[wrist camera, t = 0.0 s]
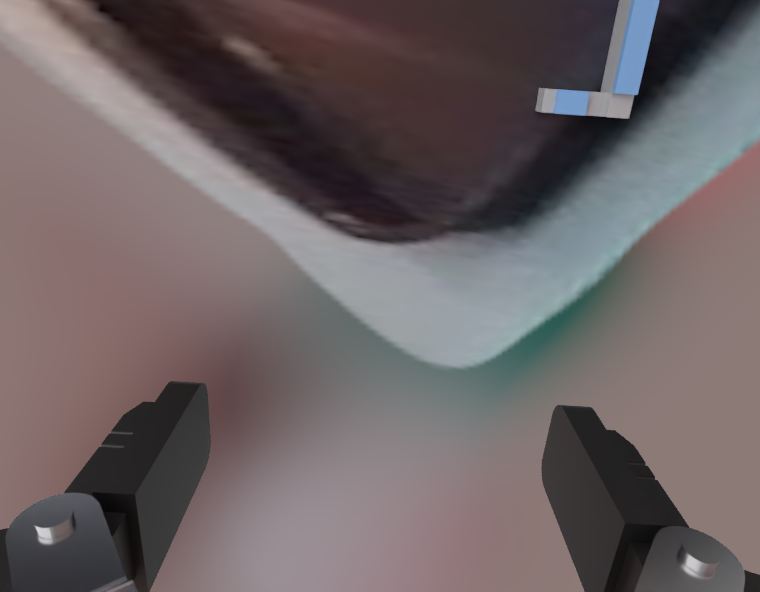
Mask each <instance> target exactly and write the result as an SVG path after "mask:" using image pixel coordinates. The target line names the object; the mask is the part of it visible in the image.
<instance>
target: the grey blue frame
mask: <svg viewBox="0 0 760 592" xmlns="http://www.w3.org/2000/svg"><path fill="white" fill-rule="evenodd" d="M658 5H659V0H619V4H618V8H617V13H616V18H615V23H614V28H613V33H612V38H611V43H610V47H609V52H608V57H607V62H606V67H605V72H604V77H603V81H602V86H601V91H600V92H588V91H574V90H560V89H545V88H539V92H538V98H537V104H536V110H535V111H537V112H543V113H555V114H568V115H582V116H585V115H587V116H601V117H611V118H626V119H629V116H630V112H631V107H632V103H633V99H634V95H638V92H639V87H640V83H641V79H642V74H643V70H644V66H645V61H646V57H647V53H648V48H649V44H650V40H651V35H652V31H653V27H654V22H655V18H656V14H657V9H658Z"/></svg>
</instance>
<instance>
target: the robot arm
mask: <svg viewBox="0 0 760 592" xmlns="http://www.w3.org/2000/svg"><path fill="white" fill-rule="evenodd" d="M210 441H211V440H210V424H209V409H208V393H207V387H206V385H205V384H204V383H195V382H177V381H171V382H169V383H168V384H167V386H166V387H165V388H164V390H163V391H162V393H161V394H160V396H159V397H158V399H157V400H156V401H155V402H142V403H141V404H139V405H138V406H136V407H135V408H133V409H132V410H130V411H129V412H127V413H126V414H124V415H123V416H122V418H121V419H120V420H119V422H118V423H117V424H116V426H115V427H114V428H113V430H112V433H111V434H109V435H108V436H107V437H106V439H105V440H104V442H103V443H102V446H101V447H99V448H98V449H97V451H96V452H95V453H94V454H93V456H92V457H91V458H90V460H89V461H88V462H87V463H86V465H85V466H84V467H83V469H82V470H81V471H80V473H79V474H78V475H77V476H76V478H75V479H74V480H73V482H72V483H71V485H70V486H69V487H68V488H67V490H66V491H65V492H64V493H63V494H58V495H54V496H51V497H48V498H45V499H43V500H40V501H38V502H36V503H35V504H33V505H31V506H30V507H28V508H26V509H25V510H24V511H22V512H21V513H20V514H19V515H18V516H17V517H16V518H15V519H14V520H13V521H12V523H11V524H10V526H9V528H7V529H2V530H0V592H149V591H150V589H151V587H152V585H153V582H154V580H155V578H156V576H157V574H158V572H159V569H160V567H161V565H162V562H163V560H164V558H165V556H166V554H167V552H168V549H169V547H170V545H171V543H172V540H173V538H174V536H175V534H176V532H177V530H178V527H179V525H180V523H181V521H182V519H183V516H184V514H185V512H186V510H187V507H188V505H189V503H190V501H191V499H192V496H193V494H194V492H195V490H196V488H197V486H198V483H199V481H200V479H201V477H202V474H203V472H204V470H205V468H206V465H207V462H208V458H209V453H210ZM542 480H543V485H544V488H545V491H546V494H547V496H548V499H549V501H550V504H551V506H552V509H553V511H554V514H555V517H556V519H557V522H558V524H559V527H560V529H561V532H562V534H563V537H564V539H565V542H566V545H567V547H568V550H569V552H570V555H571V557H572V560H573V563H574V565H575V567H576V570H577V573H578V575H579V578H580V581H581V583H582V586H583V588H584V591H585V592H760V575H758V574H755V573H751V572H748V571H745V570H744V569H743V567H742V565H741V563H740V562H739V561H738V559H737V558H736V557H735V556H734V554H733V553H732V552H731V551H730V550H729V549H728V548H727V547H725V546H724V545H723V544H721V543H720V542H719V541H717V540H716V539H714V538H712V537H711V536H709V535H707V534H705V533H702V532H700V531H698V530H695V529H691V528H689V526H688V525H687V523H686V522H685V520H684V519H683V517H682V516H681V514H680V513H679V511H678V510H677V508H676V507H675V506H674V504H673V503H672V501H671V500H670V498H669V497H668V495H667V494H666V492H665V491H664V489H663V488H662V487H661V485H660V484H659V482H658V480H655V476H654V475H653V473H652V472H651V470H650V469H649V467H648V466H646V465H645V461H644V460H643V458H642V457H641V455H640V454H639V452H638V451H637V449H636V448H635V447H634V445H632V444H631V443H630V442H629V441H627V440H626V439H625V438H624V437H622V436H621V435H620V434H619V433H617V432H616V431H614V430H606V429H605V427H604V425H603V424H602V422H601V421H600V419H599V417H598V416H597V414H596V413H595V411H594V410H593V409H592V408H591V407H581V406H564V405H558V406H556V407H555V409H554V411H553V414H552V419H551V423H550V428H549V432H548V437H547V441H546V446H545V450H544V454H543V459H542Z"/></svg>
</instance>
